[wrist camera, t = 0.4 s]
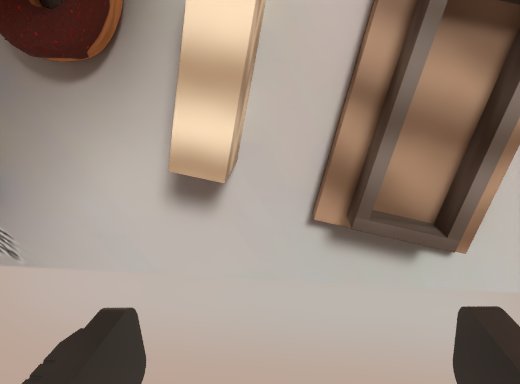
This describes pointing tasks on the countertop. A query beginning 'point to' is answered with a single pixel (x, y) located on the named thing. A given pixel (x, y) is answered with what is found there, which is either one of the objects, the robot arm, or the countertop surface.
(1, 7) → the donut
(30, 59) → the countertop surface
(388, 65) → the cradle jig
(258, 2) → the tan rectangular block
